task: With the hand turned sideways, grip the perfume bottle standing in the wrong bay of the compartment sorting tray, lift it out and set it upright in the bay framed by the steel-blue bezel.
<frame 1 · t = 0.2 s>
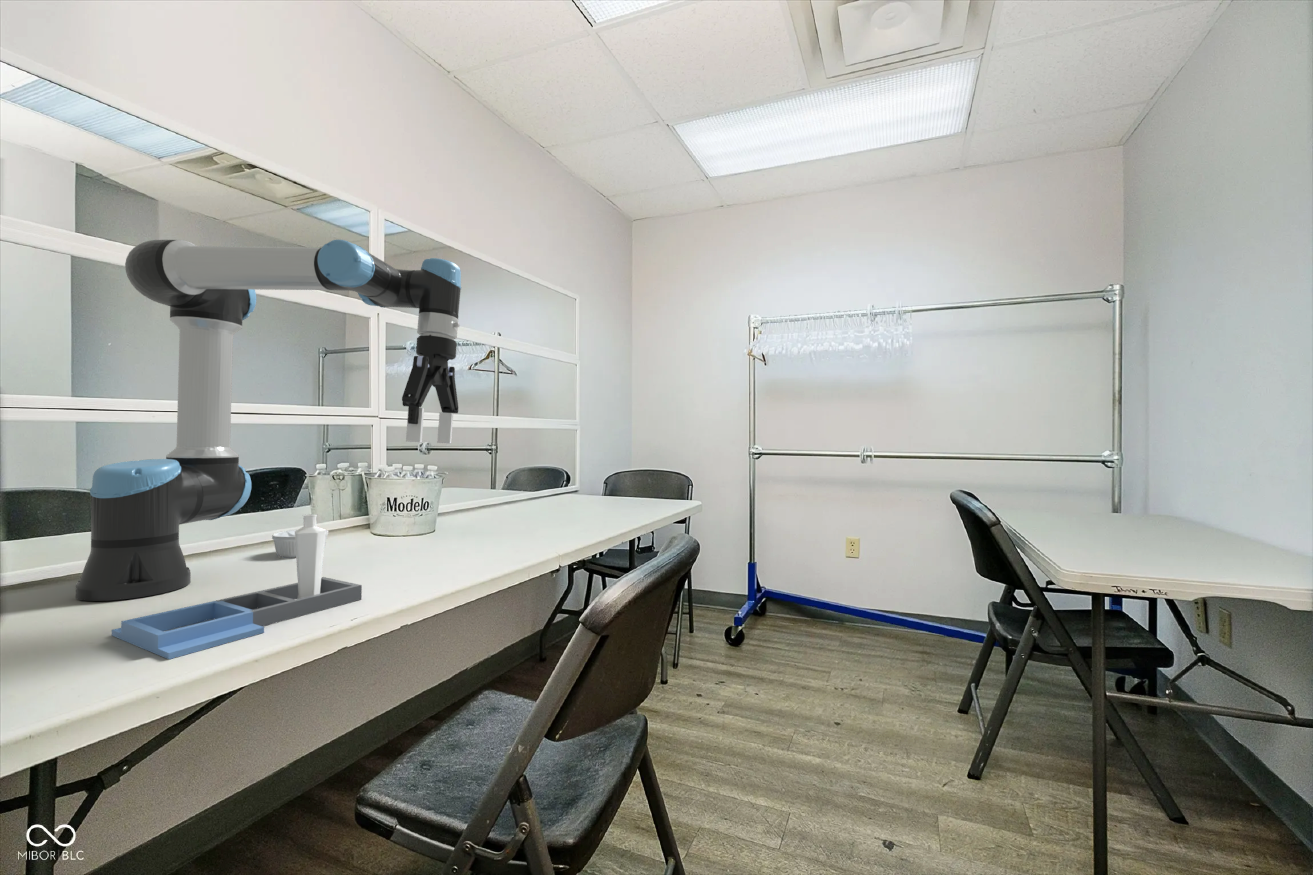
hand: (430, 442, 110), 27 cm above the table, tool pointing down, fingers open, 13 cm apart
perfume bottle: (309, 604, 93), resting in compartment sorting tray
ramekin: (300, 555, 131), on the table
compartment sorting tray: (255, 616, 86), on the table
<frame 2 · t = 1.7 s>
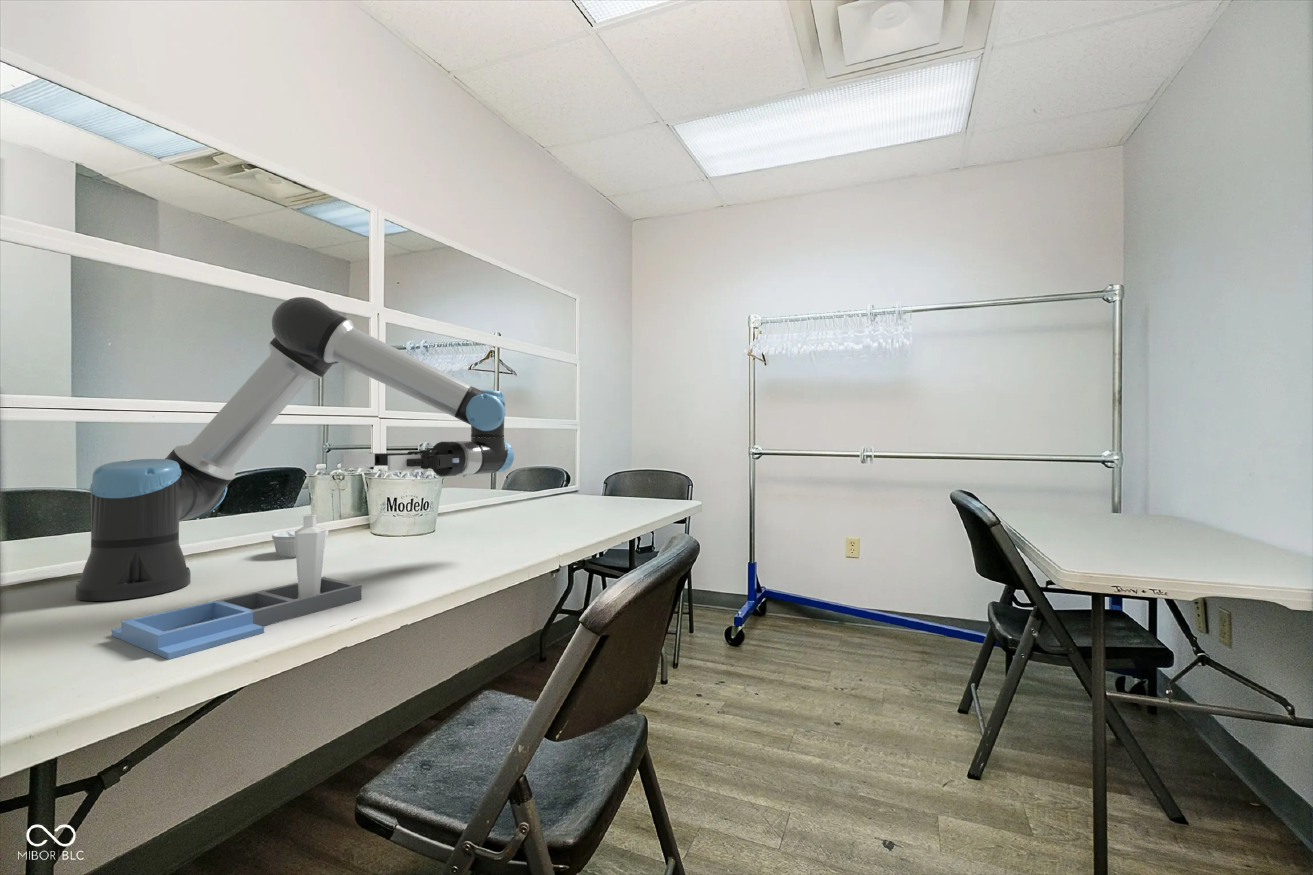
hand: (364, 462, 102), 24 cm above the table, tool horizontal, fingers open, 13 cm apart
nothing on the table moved.
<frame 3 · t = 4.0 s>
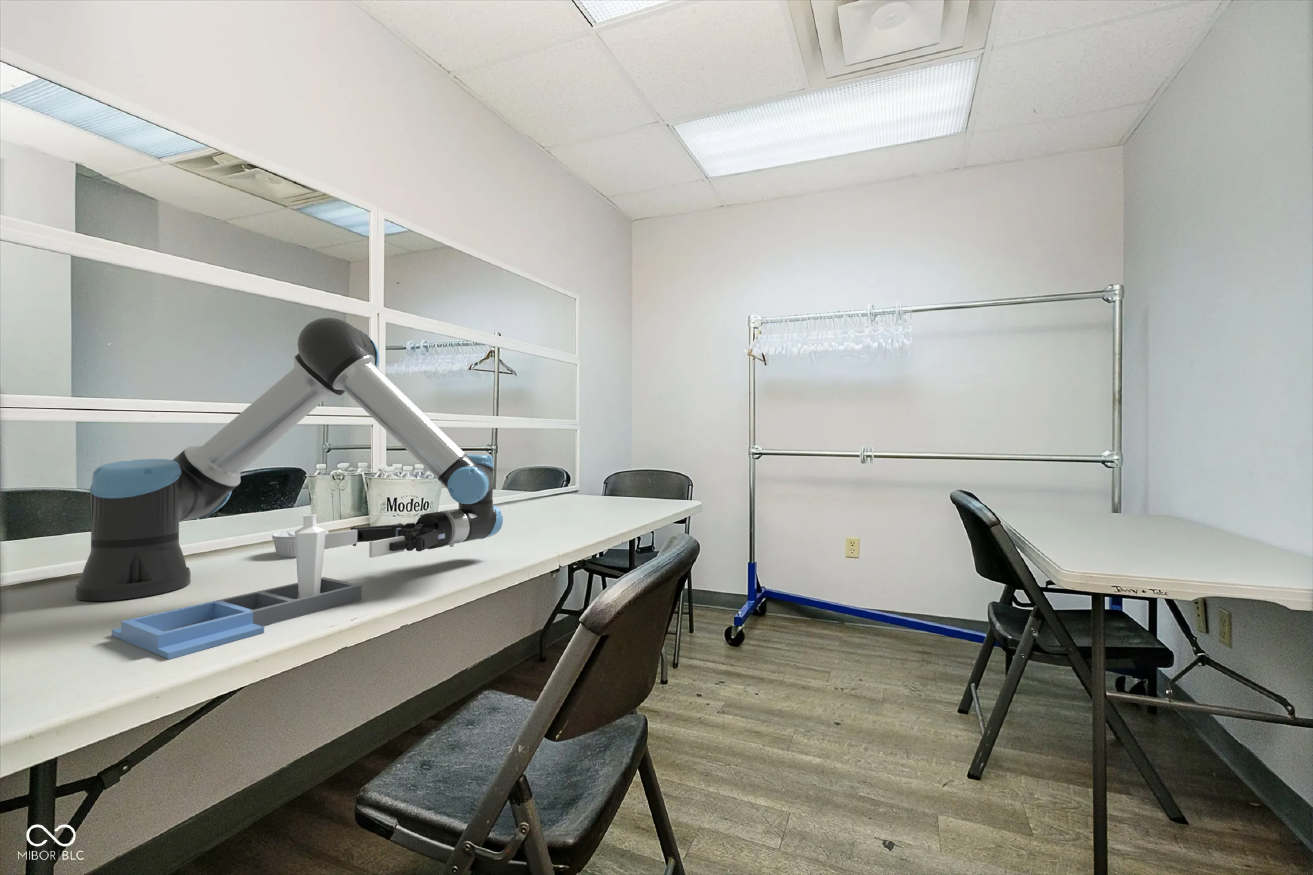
hand: (345, 545, 98), 9 cm above the table, tool horizontal, fingers open, 13 cm apart
nothing on the table moved.
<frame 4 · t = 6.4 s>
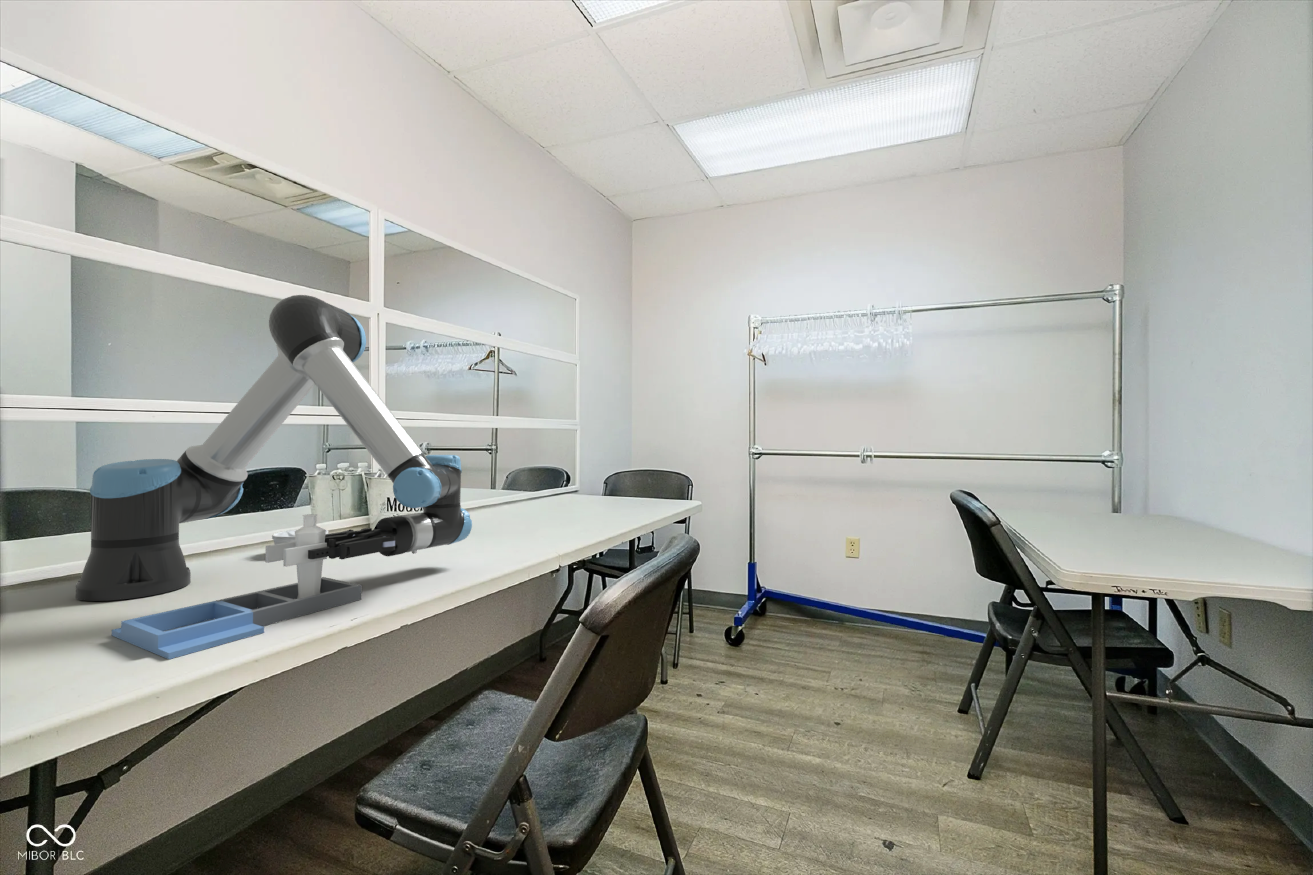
hand: (276, 555, 88), 9 cm above the table, tool horizontal, fingers closed on perfume bottle, 4 cm apart
perfume bottle: (309, 604, 93), resting in compartment sorting tray, touching gripper
everything else where it was.
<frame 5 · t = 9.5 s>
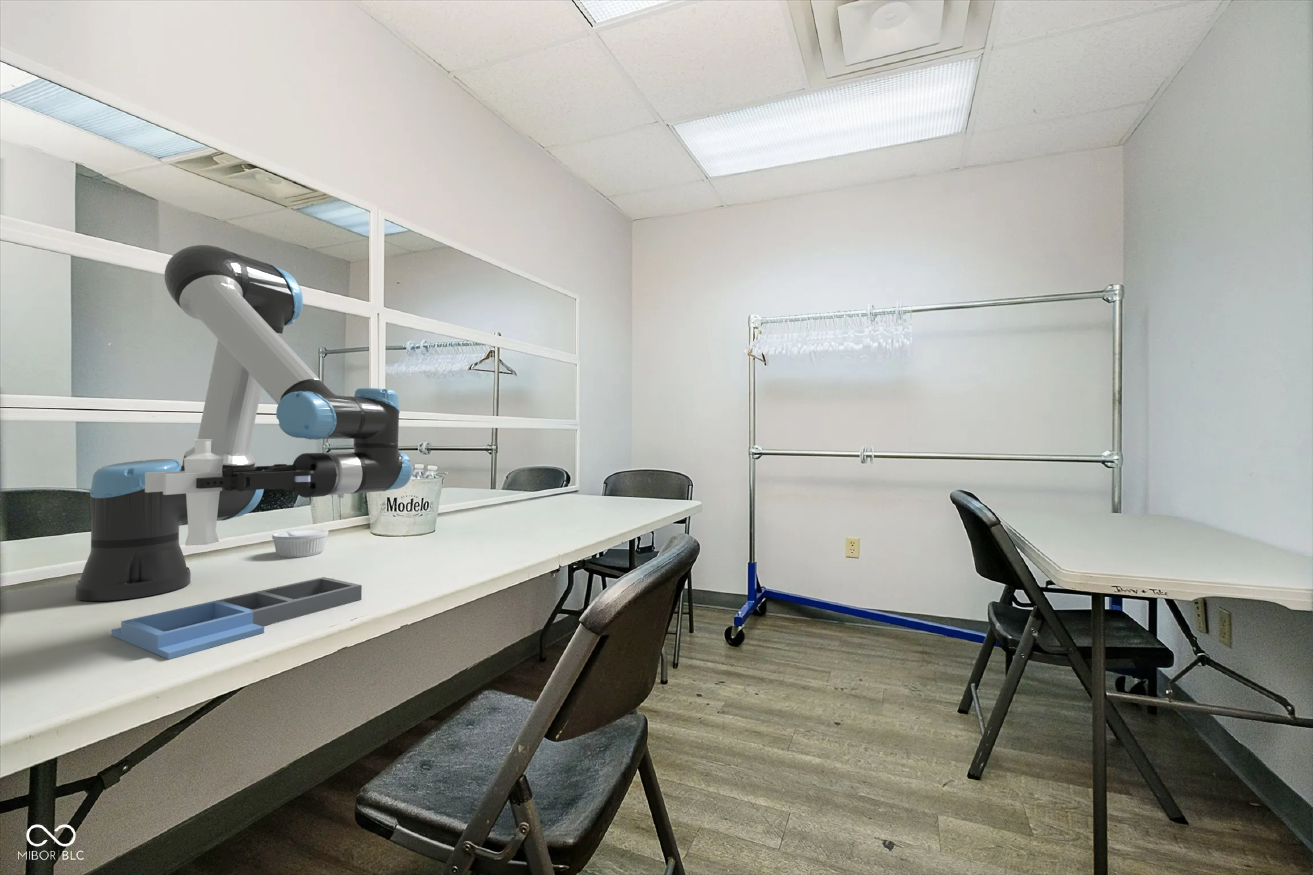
hand: (155, 483, 74), 22 cm above the table, tool horizontal, fingers closed on perfume bottle, 4 cm apart
perfume bottle: (201, 544, 79), point 13 cm above the table, touching gripper
everything else where it was.
when the fingers open (10 cm above the table, at t = 12.7 s): perfume bottle drops 1 cm, resting in compartment sorting tray.
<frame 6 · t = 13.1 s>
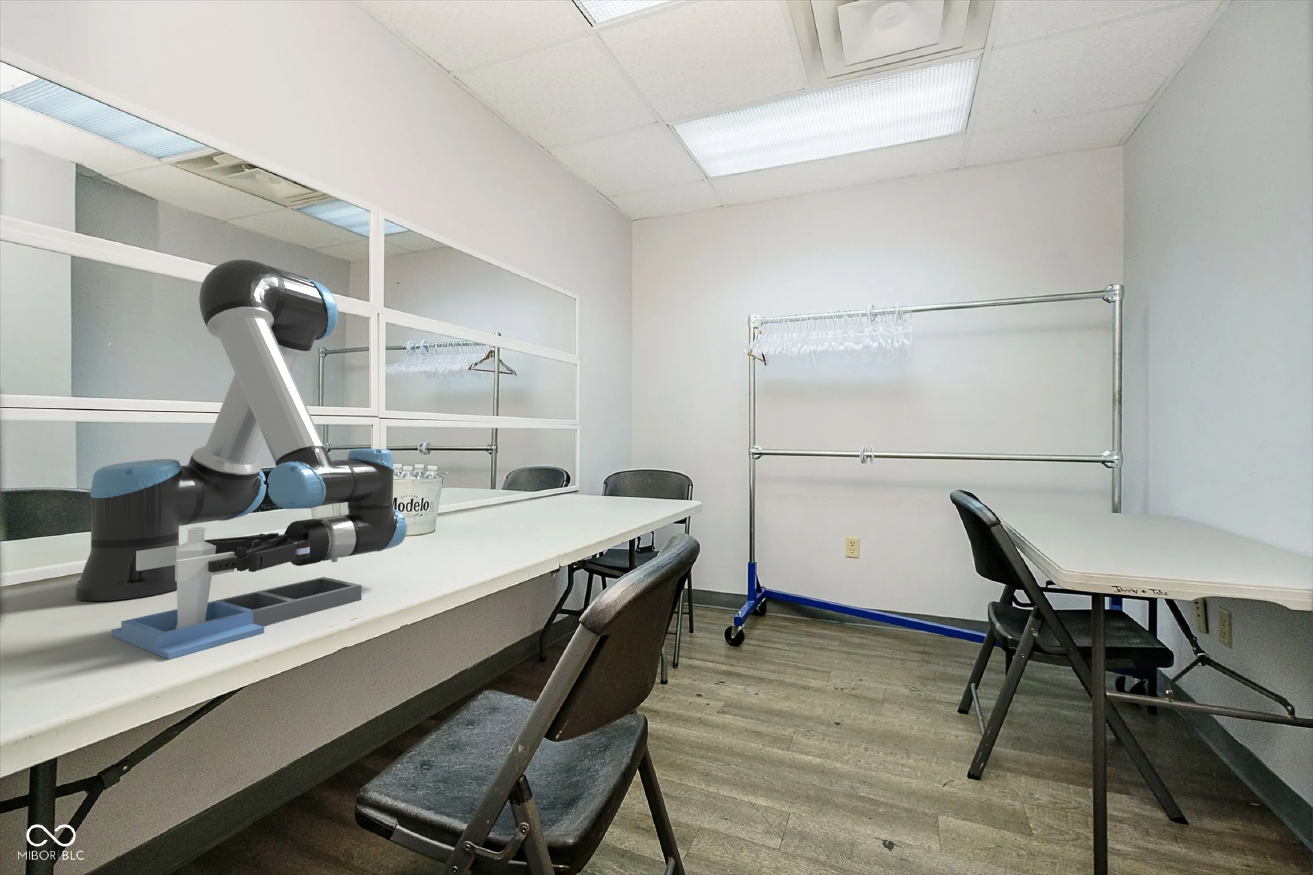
hand: (156, 565, 75), 10 cm above the table, tool horizontal, fingers open, 11 cm apart
perfume bottle: (190, 634, 78), resting in compartment sorting tray
everything else where it was.
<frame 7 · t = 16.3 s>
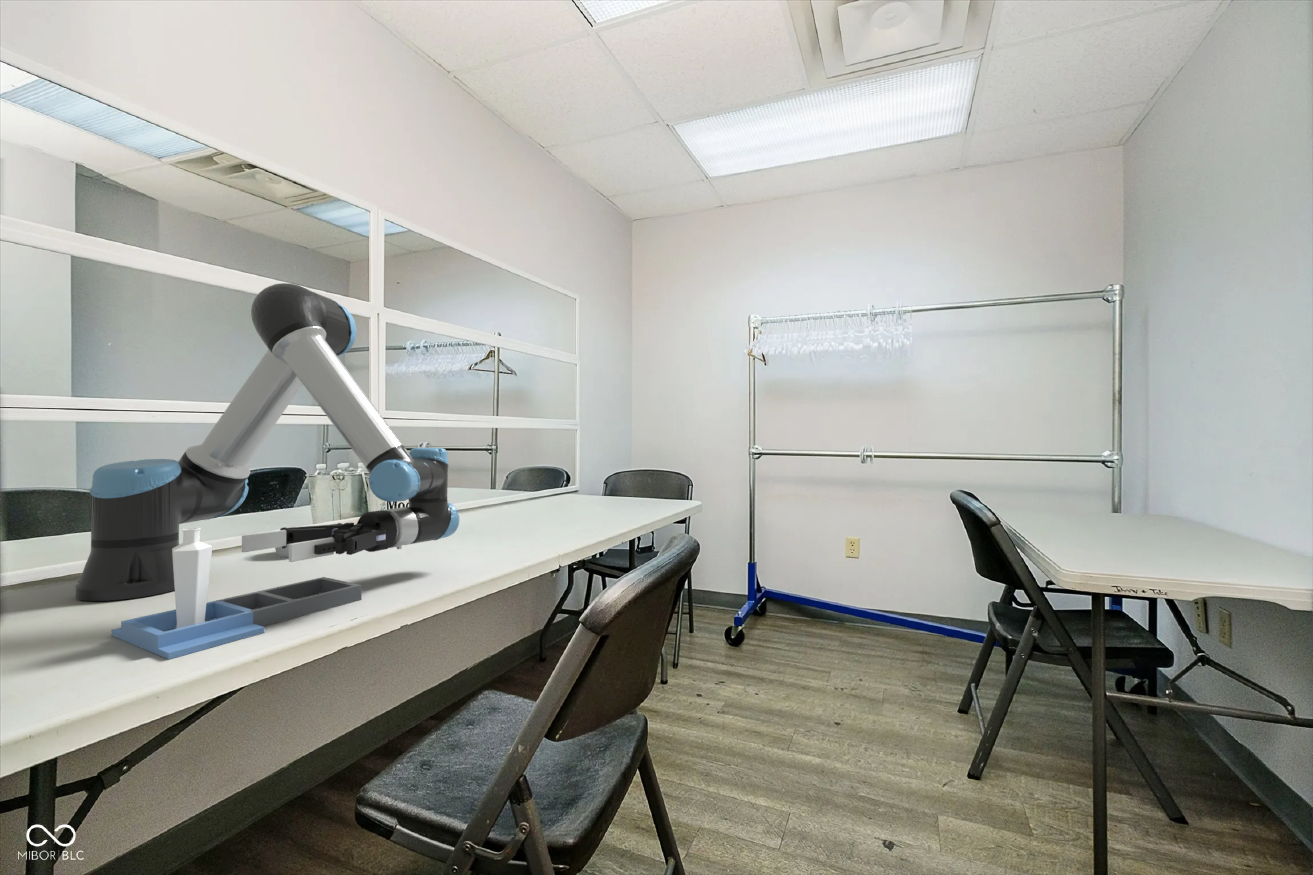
hand: (265, 548, 87), 11 cm above the table, tool horizontal, fingers open, 13 cm apart
nothing on the table moved.
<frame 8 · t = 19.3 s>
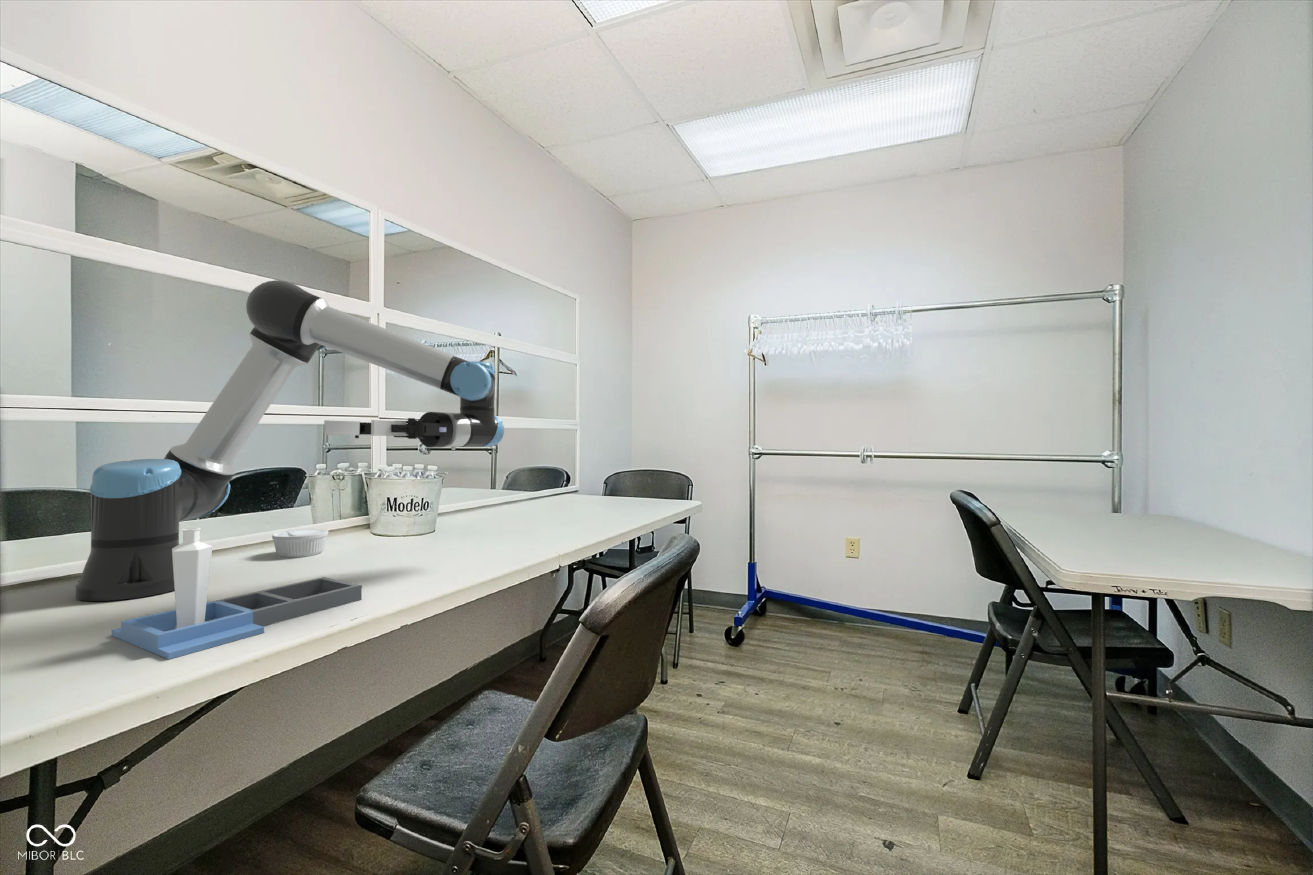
hand: (347, 427, 99), 30 cm above the table, tool horizontal, fingers open, 13 cm apart
nothing on the table moved.
at the end: perfume bottle 0.1 cm from the target spot, resting in compartment sorting tray; perfume bottle tilted 0°; the gripper is holding nothing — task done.
